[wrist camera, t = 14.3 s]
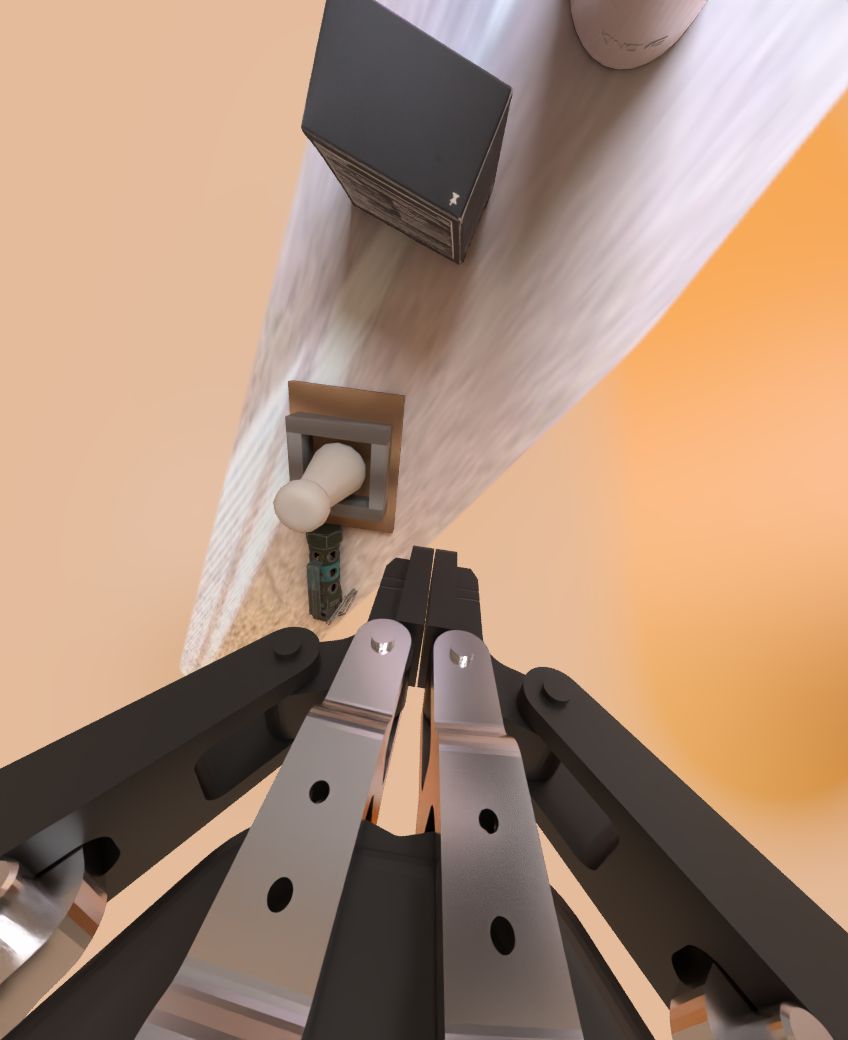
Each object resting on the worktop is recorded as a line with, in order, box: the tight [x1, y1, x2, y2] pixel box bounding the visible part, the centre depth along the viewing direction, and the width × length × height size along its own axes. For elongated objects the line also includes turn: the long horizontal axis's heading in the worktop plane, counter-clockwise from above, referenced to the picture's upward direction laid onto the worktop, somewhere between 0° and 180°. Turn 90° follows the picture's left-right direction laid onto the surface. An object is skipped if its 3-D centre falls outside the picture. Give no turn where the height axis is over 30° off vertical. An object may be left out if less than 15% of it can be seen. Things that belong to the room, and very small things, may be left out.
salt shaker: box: [273, 442, 366, 533], centre depth 32 cm, size 6×6×13 cm
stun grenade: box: [306, 523, 358, 625], centre depth 43 cm, size 6×6×14 cm
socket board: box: [285, 380, 405, 533], centre depth 37 cm, size 16×12×4 cm
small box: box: [301, 0, 513, 264], centre depth 23 cm, size 11×6×10 cm, turn 65°
